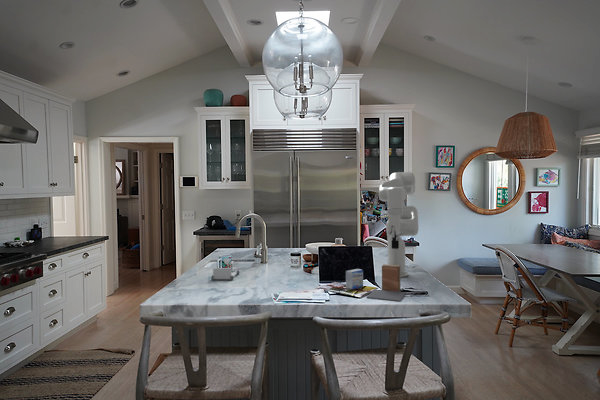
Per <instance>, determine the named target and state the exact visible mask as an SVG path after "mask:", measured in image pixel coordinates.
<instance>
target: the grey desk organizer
mask: <svg viewBox="0 0 600 400" xmlns="http://www.w3.org/2000/svg"><path fill="white" fill-rule="evenodd" d="M223 262H224V264H225V265H228V264H230V265H233V264H234V261H233V260H232V261H231V259H230V258H229V257H227V258H226V257H225V258H223ZM212 272H213V273H212V275H211V279H210V280H211V281H215V280H230V281H234V278H235V277H236V276H239V275H240V270H236V269H233V268H232V267H228V266H225V267H213V268H212Z"/></svg>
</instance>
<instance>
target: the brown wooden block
mask: <svg viewBox="0 0 600 400" xmlns="http://www.w3.org/2000/svg"><path fill="white" fill-rule="evenodd" d="M381 290H387V291H397V292H401V277H400V265H388V264H385V263H383V264H382V265H381Z"/></svg>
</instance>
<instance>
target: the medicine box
mask: <svg viewBox="0 0 600 400" xmlns="http://www.w3.org/2000/svg"><path fill="white" fill-rule="evenodd" d="M363 287H364V270H363V269H360V268H355V269H349V270H345V288H347V289H349V290H357V289H359V288H363Z"/></svg>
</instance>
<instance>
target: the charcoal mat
mask: <svg viewBox="0 0 600 400" xmlns="http://www.w3.org/2000/svg"><path fill="white" fill-rule="evenodd" d="M406 294H407V292H406V291H399V292H397V291H387V290H382V289H376V288H374V289H372V291H371V292H370V293H369V294H368V295H367V296H366V299H372V300H373V299H374V300H383V301H390V302H391V301H392V302H398V303H399V302H400V303H401V302H402V300H403V299H404V297H405V296H406Z"/></svg>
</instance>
